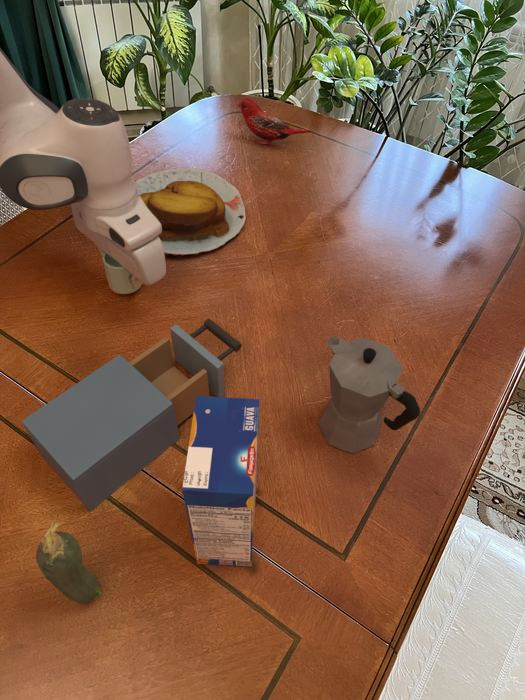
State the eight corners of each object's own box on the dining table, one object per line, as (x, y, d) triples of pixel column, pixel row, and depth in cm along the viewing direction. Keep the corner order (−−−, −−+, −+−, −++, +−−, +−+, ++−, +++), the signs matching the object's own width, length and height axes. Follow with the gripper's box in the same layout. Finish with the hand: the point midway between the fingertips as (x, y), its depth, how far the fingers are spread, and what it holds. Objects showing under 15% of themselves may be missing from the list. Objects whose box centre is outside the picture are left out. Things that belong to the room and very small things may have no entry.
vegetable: (72, 617, 68) (20, 561, 52) (65, 582, 70) (13, 519, 55) (109, 601, 69) (69, 543, 53) (100, 568, 72) (59, 502, 56)
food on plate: (222, 170, 124) (221, 143, 119) (265, 242, 110) (266, 215, 105) (106, 194, 118) (100, 167, 113) (135, 274, 104) (130, 247, 99)
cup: (101, 281, 100) (95, 255, 95) (128, 265, 102) (123, 239, 98) (122, 299, 97) (116, 273, 92) (149, 282, 100) (145, 256, 95)
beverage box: (197, 565, 72) (182, 490, 55) (206, 484, 79) (196, 395, 62) (251, 568, 72) (253, 494, 55) (256, 486, 79) (259, 398, 62)
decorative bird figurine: (239, 134, 133) (239, 92, 125) (311, 153, 129) (315, 111, 121) (234, 140, 132) (233, 99, 124) (306, 159, 128) (310, 117, 120)
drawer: (205, 338, 94) (202, 305, 88) (249, 374, 90) (250, 343, 83) (106, 409, 85) (95, 379, 79) (150, 454, 80) (142, 425, 74)
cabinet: (130, 392, 88) (119, 353, 80) (179, 439, 83) (173, 403, 76) (41, 456, 81) (20, 421, 73) (89, 512, 76) (72, 480, 69)
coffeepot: (295, 416, 86) (305, 340, 72) (337, 382, 90) (354, 304, 76) (374, 487, 79) (402, 418, 65) (416, 446, 83) (451, 373, 69)
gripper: (53, 185, 90) (72, 251, 101) (134, 249, 82) (146, 314, 92) (87, 169, 93) (102, 235, 104) (169, 229, 85) (176, 294, 95)
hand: (123, 273), depth 98 cm, fingers closed on cup, 6 cm apart
